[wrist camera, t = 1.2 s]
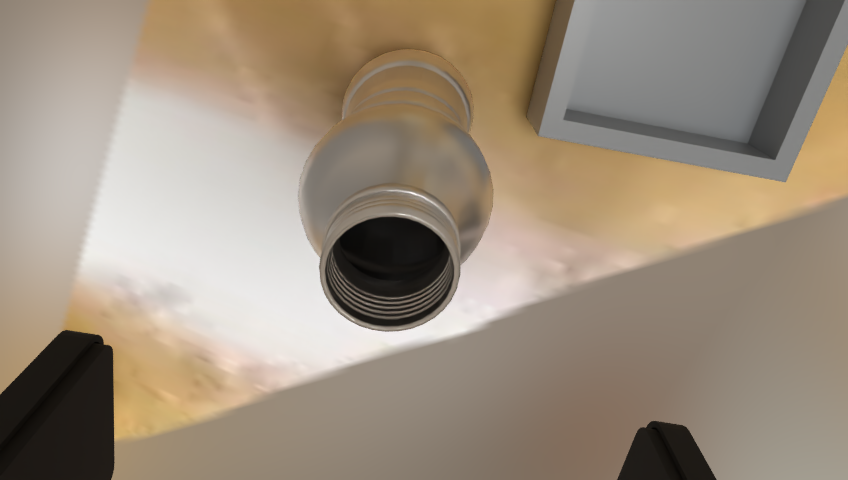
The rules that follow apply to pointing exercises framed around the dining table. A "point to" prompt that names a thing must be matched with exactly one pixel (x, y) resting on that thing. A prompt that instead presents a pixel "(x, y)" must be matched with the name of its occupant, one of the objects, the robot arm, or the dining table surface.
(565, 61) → the grey bin
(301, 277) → the dining table surface
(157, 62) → the dining table surface
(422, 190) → the plastic bottle
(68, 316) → the dining table surface
